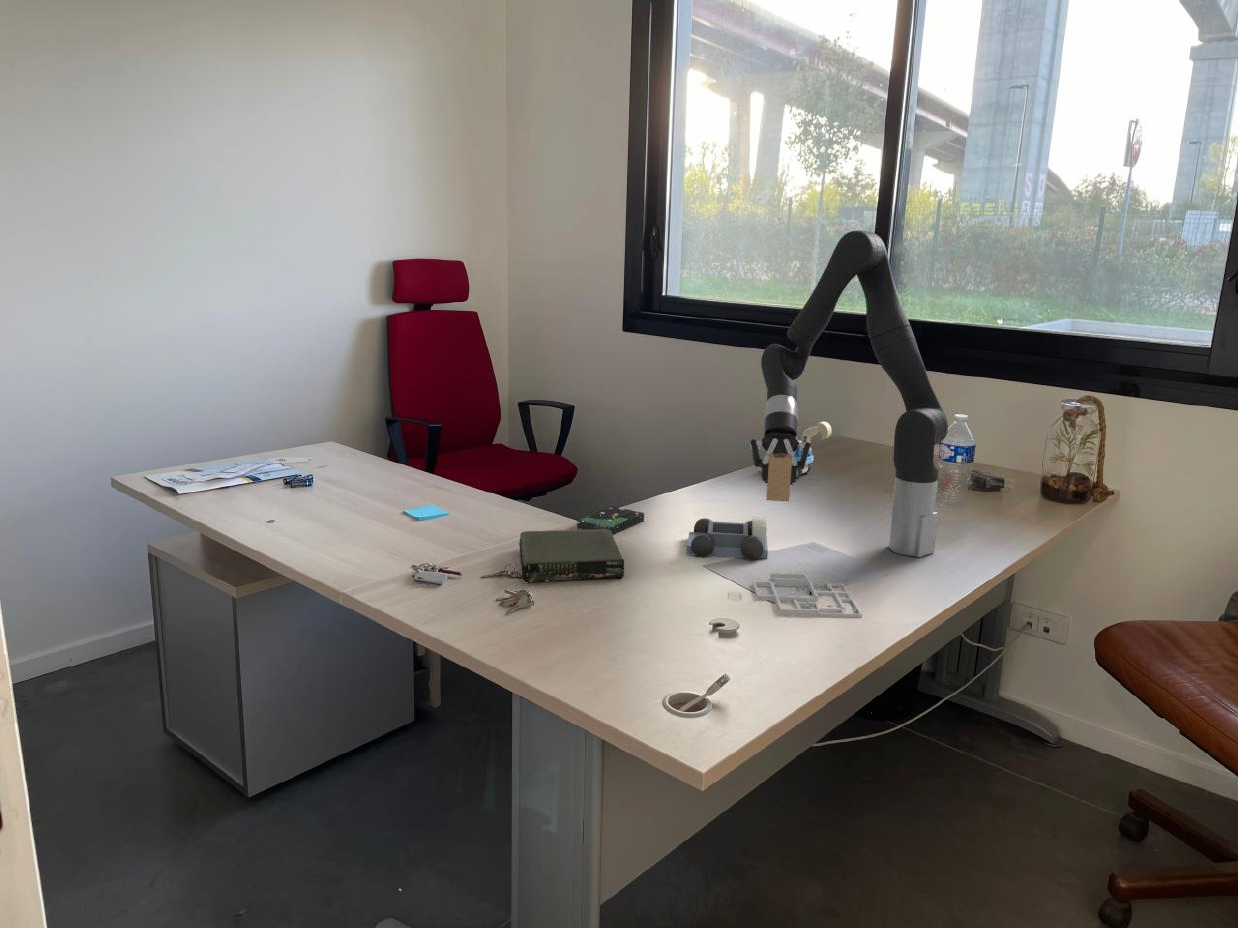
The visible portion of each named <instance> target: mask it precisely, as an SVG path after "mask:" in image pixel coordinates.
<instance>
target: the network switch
mask: <svg viewBox="0 0 1238 928" xmlns="http://www.w3.org/2000/svg"><path fill="white" fill-rule="evenodd" d="M518 545H519V555H520V556H519V557H520V569H521V577H522V580H523V582H524V581H525V582H530V581H534V582H538V581H545V580H548V581H550V580H552V581H561V580H562V581H567V580H570V581H572V579H573V580H577V579H578V580H579V581H582V580H585V579H598V578H609V579H610V578H619V579H620V578H621V579H623V578H624V576H625V560H624V558H623V556H622V554H621V551H620V549H619V547H618V545H617V542H616V539H615V537H614V535H612V531H610V530H605V529H594V530H583V529H563V530H562V529H559V530H558V529H557V530H556V529H554V530H526V531H522V532H521V533H520V536H519V543H518ZM581 579H582V580H581ZM525 582H524V583H525ZM545 582H546V581H545ZM530 583H531V582H530Z"/></svg>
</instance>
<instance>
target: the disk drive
mask: <svg viewBox="0 0 1238 928" xmlns="http://www.w3.org/2000/svg"><path fill="white" fill-rule="evenodd" d="M600 515H601V516H600ZM582 521H584V522H582ZM577 522H580V523H577ZM643 522H645V512H642V511H635V510H632V509H627V508H624V509H620V508H619V506H613V505H611V506H607V507H605V508H602V509H601V510H598V511H596V512H593V513H590V514H588V515H586V516H582V517H581V518H578V519H577V521H576V523H577V525H576V526H577V529H578V530H594V529H605V530H610V531H612V535H613V536H614V535H617V534H618V532H619V533H621V532H624V531H625V530H627V529H631V528H632V527H634V526H637V525H639V524H641V523H643ZM620 531H621V532H620ZM616 533H617V534H616Z"/></svg>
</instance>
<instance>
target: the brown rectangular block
mask: <svg viewBox="0 0 1238 928" xmlns="http://www.w3.org/2000/svg"><path fill="white" fill-rule="evenodd" d="M791 466H792V454H788V453H781V452H773V453H769V462H768V483H766V493H765V494H766V495H765V496H766V497H765V498H766V501H771V502H772V501H773V502H788V503H789V502H790V495H791V494H790V493H791V492H790V491H791V485H790V481H791Z"/></svg>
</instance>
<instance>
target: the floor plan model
mask: <svg viewBox="0 0 1238 928" xmlns="http://www.w3.org/2000/svg"><path fill="white" fill-rule="evenodd" d="M769 573H770V574H769V580H752V588H753V590H755V591H754V593H755V597H756V599H757V601H774V603H775V604H776V608H777V611H778V613H779V615H780V616H805V617H808V616H809V617H824V618H825V617H832V618H862V617H863V614H862V611H861V610H860V607H859V606H858V604H857V603H856V601H855V599H854V598H853V597H851V595H850V593H849V592H848V590H847V588H846V586H845V584H844V583H830V582H829V583H824V582H821V583H820V582H816V583H815V582H812V580H811V579H810V580H809V577H808V576H807V573H789V572H787V573H784V572H783V573H781V572H780V573H779V572H769ZM772 581H774V582H772ZM775 586H789V587H792V586H794V587H795V586H796V591H798V592H800V590H802V591H803V592H805V590H804V587H806V586H807V588H808V591H809V596H798V595H790V594H794V593H795V592H792V591H791V592H790V594H789V595H779V594H777V593H778V592H777V590H776V587H775ZM758 587H769V588H770V590H772V591H771V593H772V594H760V593H759V589H758ZM799 587H802V588H799ZM815 587H821V588H822V587H826V589H827V590H824V589H821V590H816V589H815ZM838 587H839V588H842V589H843V591H842V590H841V591H838V590H836V591H835V589H834V588H838ZM819 596H829V597H830V596H831V597H833V596H834V598H835V600H836V602H837V604H838V606H839V607H834V606H833V605H826V607H819V603H818V601H819V600H818V599H819ZM840 596H847V598H845V597H842V598H841V597H840ZM782 603H787V604H788V603H790V604H791V603H793V605H794V608H783V604H782ZM844 603H848V604H849V603H850V605H851V606H852V608H853V611H854V613H851V612H850V613H847V612H846V606H845V605H844ZM806 604H807V605H806Z"/></svg>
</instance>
